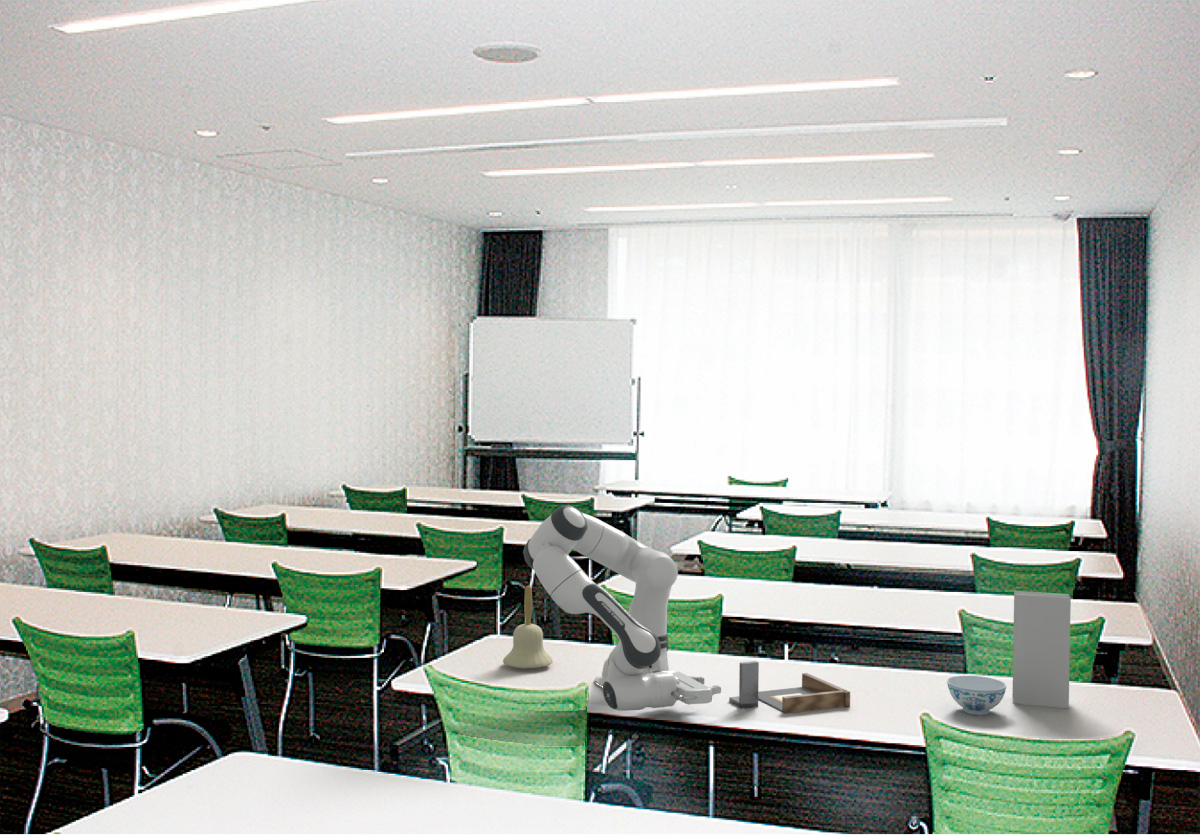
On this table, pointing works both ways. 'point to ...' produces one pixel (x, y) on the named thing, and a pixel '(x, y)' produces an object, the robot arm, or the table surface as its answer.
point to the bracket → (747, 685)
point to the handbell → (528, 642)
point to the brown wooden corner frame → (816, 696)
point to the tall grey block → (1041, 649)
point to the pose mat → (780, 695)
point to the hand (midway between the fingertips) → (711, 684)
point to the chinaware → (976, 693)
